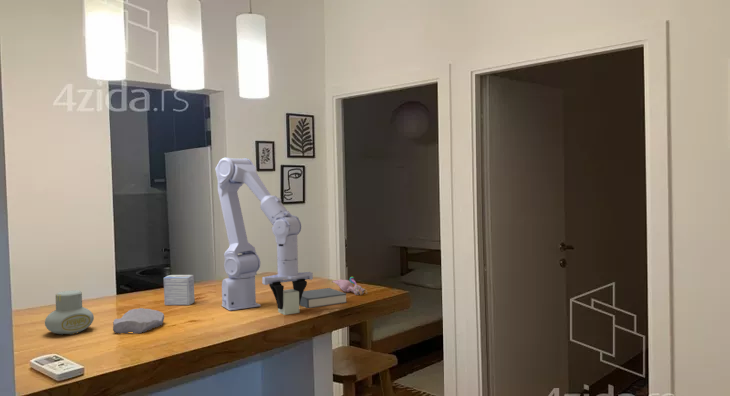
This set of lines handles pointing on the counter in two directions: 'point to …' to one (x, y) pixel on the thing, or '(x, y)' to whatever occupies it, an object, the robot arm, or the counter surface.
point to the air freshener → (69, 314)
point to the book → (322, 298)
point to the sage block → (290, 302)
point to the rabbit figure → (350, 286)
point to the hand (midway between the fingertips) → (288, 307)
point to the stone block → (138, 321)
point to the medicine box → (179, 290)
